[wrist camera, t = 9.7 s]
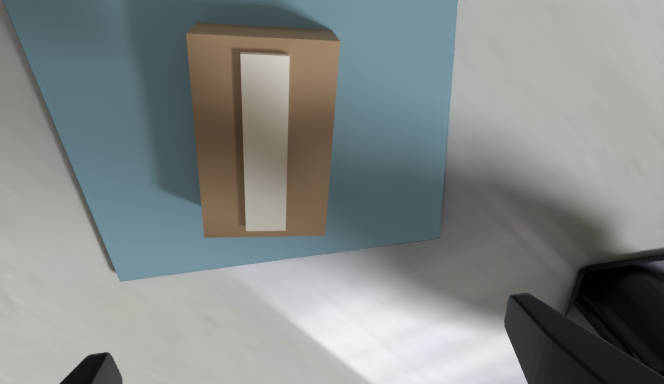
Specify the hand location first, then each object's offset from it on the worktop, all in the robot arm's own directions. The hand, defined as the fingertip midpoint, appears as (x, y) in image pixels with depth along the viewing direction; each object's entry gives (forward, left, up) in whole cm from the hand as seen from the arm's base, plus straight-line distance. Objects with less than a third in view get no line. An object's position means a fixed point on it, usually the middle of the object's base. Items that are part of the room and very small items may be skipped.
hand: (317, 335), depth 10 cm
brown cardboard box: (+1, -1, -10) cm, 10 cm away
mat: (+1, -1, -11) cm, 11 cm away
